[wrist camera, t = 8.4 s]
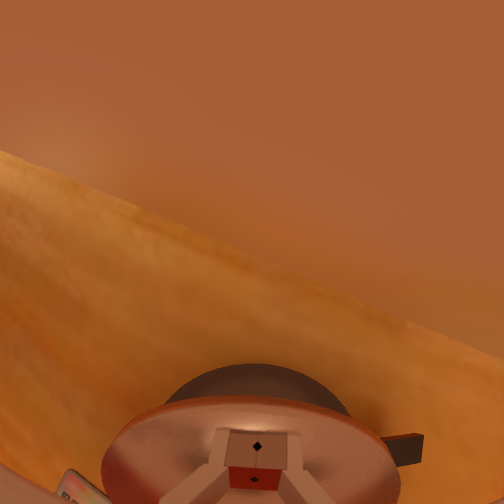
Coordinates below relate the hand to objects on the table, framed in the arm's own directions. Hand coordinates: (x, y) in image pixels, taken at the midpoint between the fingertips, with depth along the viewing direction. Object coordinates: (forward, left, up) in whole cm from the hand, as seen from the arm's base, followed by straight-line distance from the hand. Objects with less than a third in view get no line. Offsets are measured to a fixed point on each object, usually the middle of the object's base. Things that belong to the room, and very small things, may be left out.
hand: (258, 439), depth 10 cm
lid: (+2, -5, -5) cm, 7 cm away
